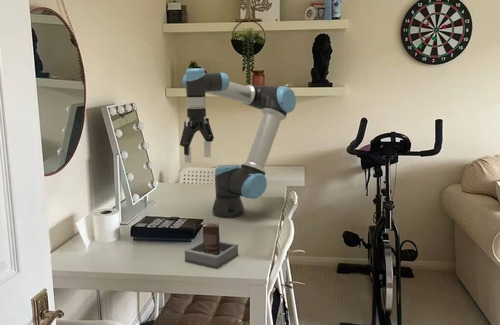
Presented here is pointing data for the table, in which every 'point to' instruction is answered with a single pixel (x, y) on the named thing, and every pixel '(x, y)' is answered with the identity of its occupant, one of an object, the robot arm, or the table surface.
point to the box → (211, 238)
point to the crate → (215, 261)
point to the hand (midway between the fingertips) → (198, 159)
